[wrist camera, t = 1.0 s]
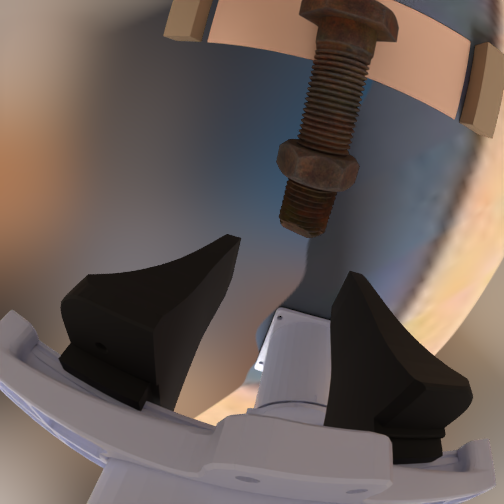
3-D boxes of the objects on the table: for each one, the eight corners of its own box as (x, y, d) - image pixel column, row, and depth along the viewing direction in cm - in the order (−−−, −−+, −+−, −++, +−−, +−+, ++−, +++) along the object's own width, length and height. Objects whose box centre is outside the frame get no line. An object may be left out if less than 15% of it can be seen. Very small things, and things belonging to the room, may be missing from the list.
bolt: (294, 203, 22) (335, 18, 13) (350, 232, 19) (405, 30, 11) (243, 222, 18) (288, -15, 9) (309, 261, 15) (377, -11, 7)
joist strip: (478, 134, 14) (492, 138, 12) (176, 40, 15) (163, 35, 14) (494, 59, 10) (507, 57, 9) (198, -33, 12) (188, -43, 10)
